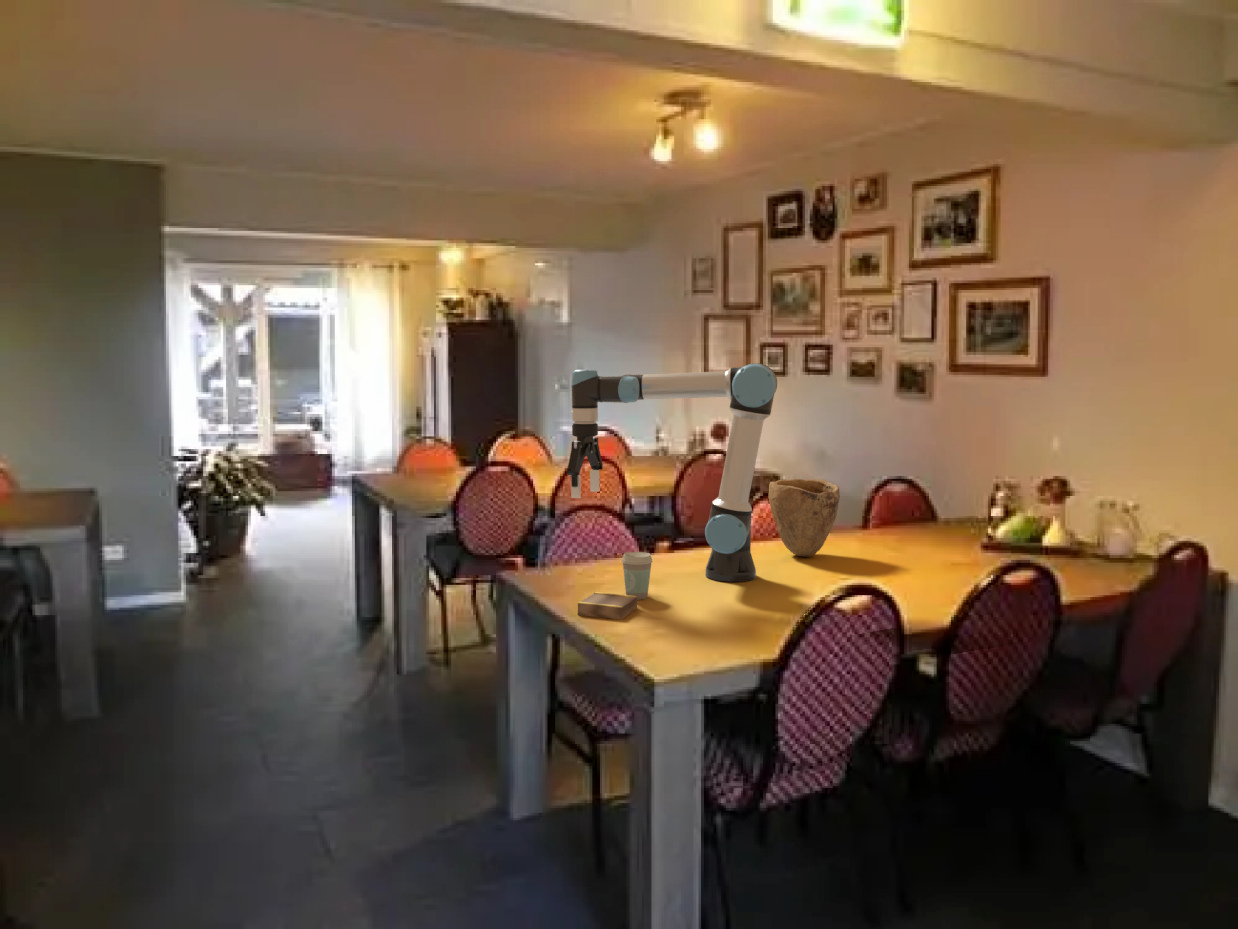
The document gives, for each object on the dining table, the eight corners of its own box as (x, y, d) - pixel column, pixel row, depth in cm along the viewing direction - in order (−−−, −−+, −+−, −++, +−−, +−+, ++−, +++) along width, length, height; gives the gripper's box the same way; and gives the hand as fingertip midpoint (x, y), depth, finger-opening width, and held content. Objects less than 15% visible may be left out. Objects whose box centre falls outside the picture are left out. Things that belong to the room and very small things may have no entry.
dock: (637, 608, 266) (637, 596, 266) (621, 619, 255) (621, 607, 254) (595, 603, 270) (595, 591, 270) (577, 614, 259) (577, 602, 259)
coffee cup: (620, 593, 281) (620, 551, 280) (650, 593, 282) (650, 551, 281) (622, 601, 273) (623, 557, 272) (653, 600, 274) (654, 557, 272)
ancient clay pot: (805, 567, 317) (808, 488, 314) (754, 555, 334) (755, 480, 331) (851, 558, 331) (853, 482, 328) (799, 547, 348) (801, 475, 345)
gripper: (590, 419, 306) (591, 488, 308) (554, 425, 283) (555, 499, 285) (613, 419, 303) (613, 489, 305) (579, 426, 280) (579, 501, 282)
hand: (585, 494), depth 295 cm, fingers open, 13 cm apart
